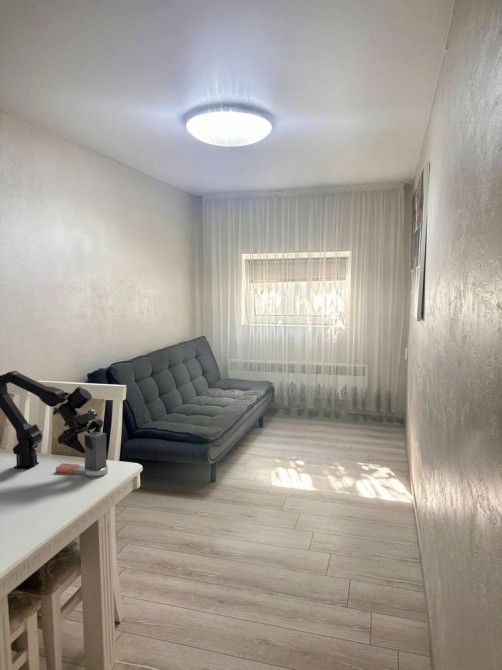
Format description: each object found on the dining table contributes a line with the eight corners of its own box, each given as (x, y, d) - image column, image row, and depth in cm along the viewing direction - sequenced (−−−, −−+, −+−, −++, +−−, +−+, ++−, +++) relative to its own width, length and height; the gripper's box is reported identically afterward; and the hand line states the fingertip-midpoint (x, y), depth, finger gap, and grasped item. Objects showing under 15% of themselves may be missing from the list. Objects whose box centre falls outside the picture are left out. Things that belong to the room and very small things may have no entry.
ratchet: (111, 469, 168) (111, 458, 167) (101, 478, 160) (101, 466, 159) (65, 466, 170) (65, 455, 170) (52, 474, 162) (52, 462, 162)
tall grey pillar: (84, 469, 163) (84, 435, 162) (95, 464, 168) (95, 431, 167) (96, 471, 161) (95, 437, 160) (106, 466, 166) (106, 433, 165)
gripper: (63, 409, 156) (86, 443, 153) (100, 398, 173) (122, 429, 170) (47, 427, 160) (70, 462, 156) (84, 415, 177) (106, 446, 173)
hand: (93, 449), depth 164 cm, fingers open, 9 cm apart
